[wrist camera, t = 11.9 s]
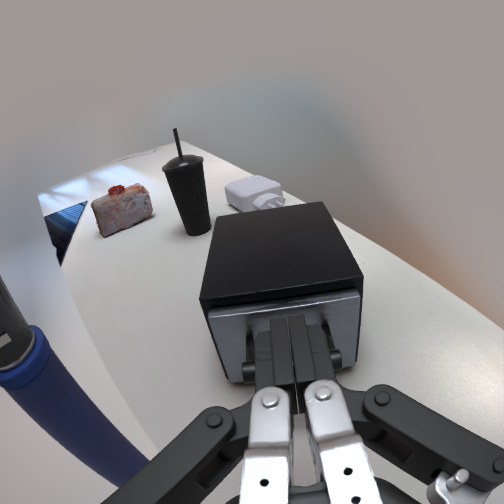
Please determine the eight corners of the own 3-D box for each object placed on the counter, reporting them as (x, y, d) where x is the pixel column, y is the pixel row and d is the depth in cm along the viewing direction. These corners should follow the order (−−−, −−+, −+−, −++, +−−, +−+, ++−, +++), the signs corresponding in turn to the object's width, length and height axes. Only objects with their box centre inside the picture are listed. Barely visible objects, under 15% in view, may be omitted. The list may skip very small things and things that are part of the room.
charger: (258, 226, 58) (227, 204, 70) (300, 211, 60) (264, 192, 73) (254, 202, 55) (223, 184, 67) (298, 188, 58) (260, 173, 70)
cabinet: (356, 361, 28) (364, 275, 23) (226, 379, 29) (198, 299, 24) (326, 272, 42) (322, 201, 37) (232, 285, 43) (216, 216, 38)
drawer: (365, 403, 23) (377, 336, 19) (228, 421, 24) (201, 360, 20) (325, 277, 39) (322, 217, 35) (235, 290, 40) (221, 231, 36)
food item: (146, 210, 77) (136, 174, 72) (157, 217, 71) (146, 177, 66) (98, 231, 70) (85, 194, 66) (105, 240, 65) (90, 200, 60)
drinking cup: (172, 238, 59) (144, 136, 49) (194, 220, 65) (171, 127, 55) (204, 240, 56) (178, 130, 46) (225, 221, 62) (204, 121, 52)
